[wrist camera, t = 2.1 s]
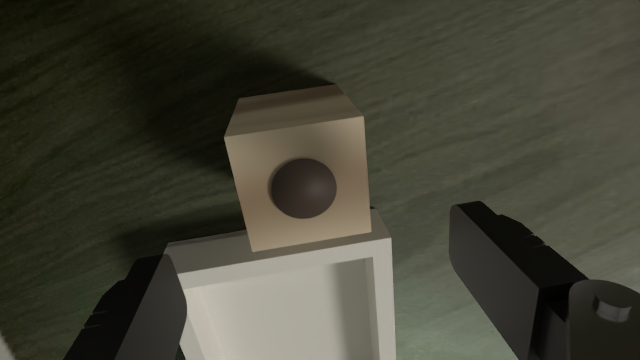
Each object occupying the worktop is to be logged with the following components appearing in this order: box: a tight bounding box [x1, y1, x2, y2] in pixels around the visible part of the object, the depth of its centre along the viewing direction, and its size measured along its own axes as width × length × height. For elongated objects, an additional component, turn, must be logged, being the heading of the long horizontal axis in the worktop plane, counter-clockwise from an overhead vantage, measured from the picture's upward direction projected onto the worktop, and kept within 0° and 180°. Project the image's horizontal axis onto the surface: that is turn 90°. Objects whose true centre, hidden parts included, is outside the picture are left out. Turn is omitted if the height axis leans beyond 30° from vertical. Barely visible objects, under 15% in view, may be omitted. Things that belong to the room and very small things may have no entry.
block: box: [224, 84, 371, 252], centre depth 16 cm, size 5×5×6 cm
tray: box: [163, 208, 396, 360], centre depth 22 cm, size 14×12×3 cm
